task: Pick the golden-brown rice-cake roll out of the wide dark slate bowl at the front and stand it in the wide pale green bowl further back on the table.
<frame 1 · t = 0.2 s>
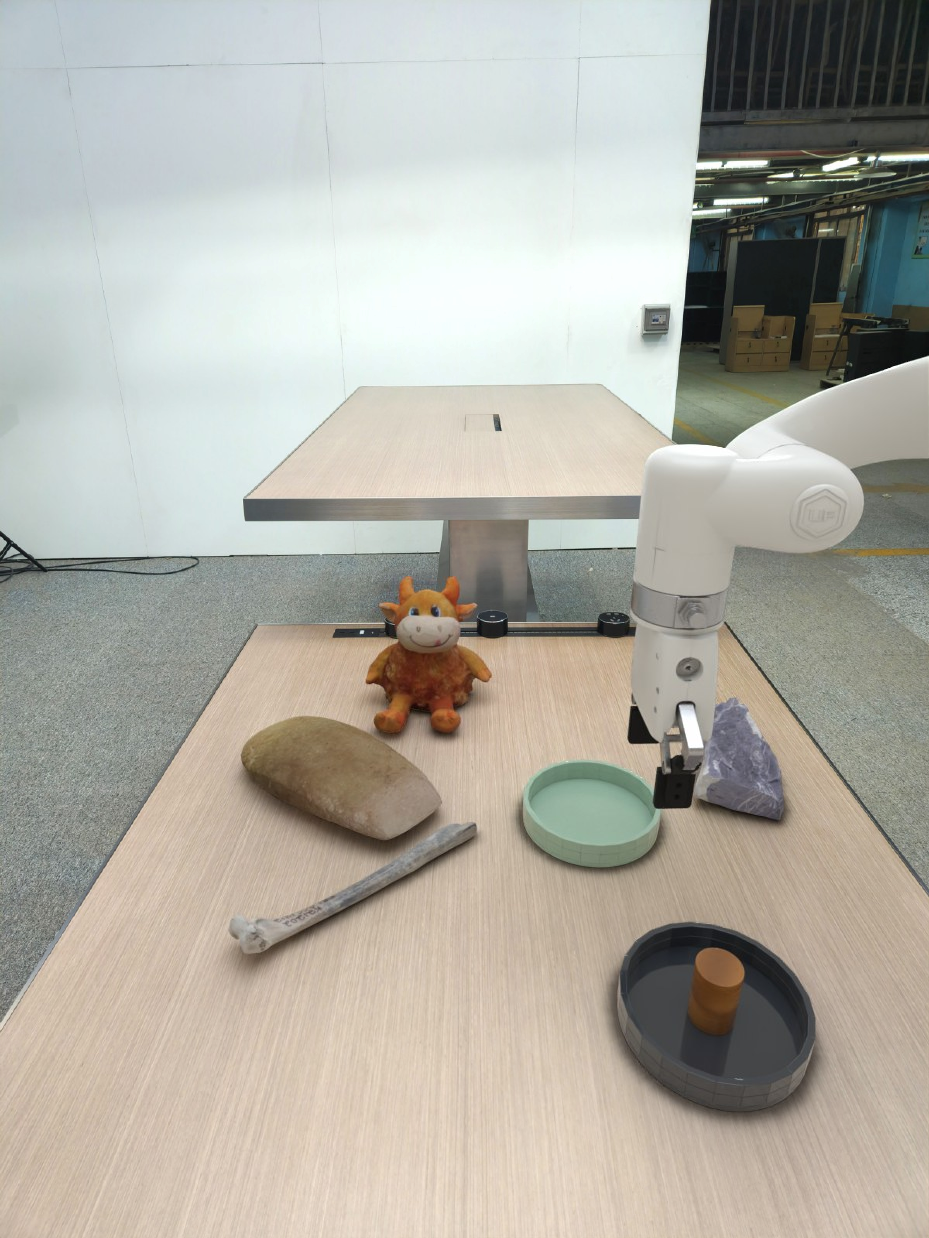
hand: (656, 772, 69), 19 cm above the table, tool pointing down, fingers open, 9 cm apart
toy: (428, 702, 117), on the table
rock: (725, 763, 102), on the table
bone: (367, 892, 81), on the table
slate bowl: (709, 1019, 67), on the table
stone: (335, 790, 97), on the table
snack: (710, 1014, 66), point 1 cm above the table, touching slate bowl
green bowl: (589, 820, 91), on the table
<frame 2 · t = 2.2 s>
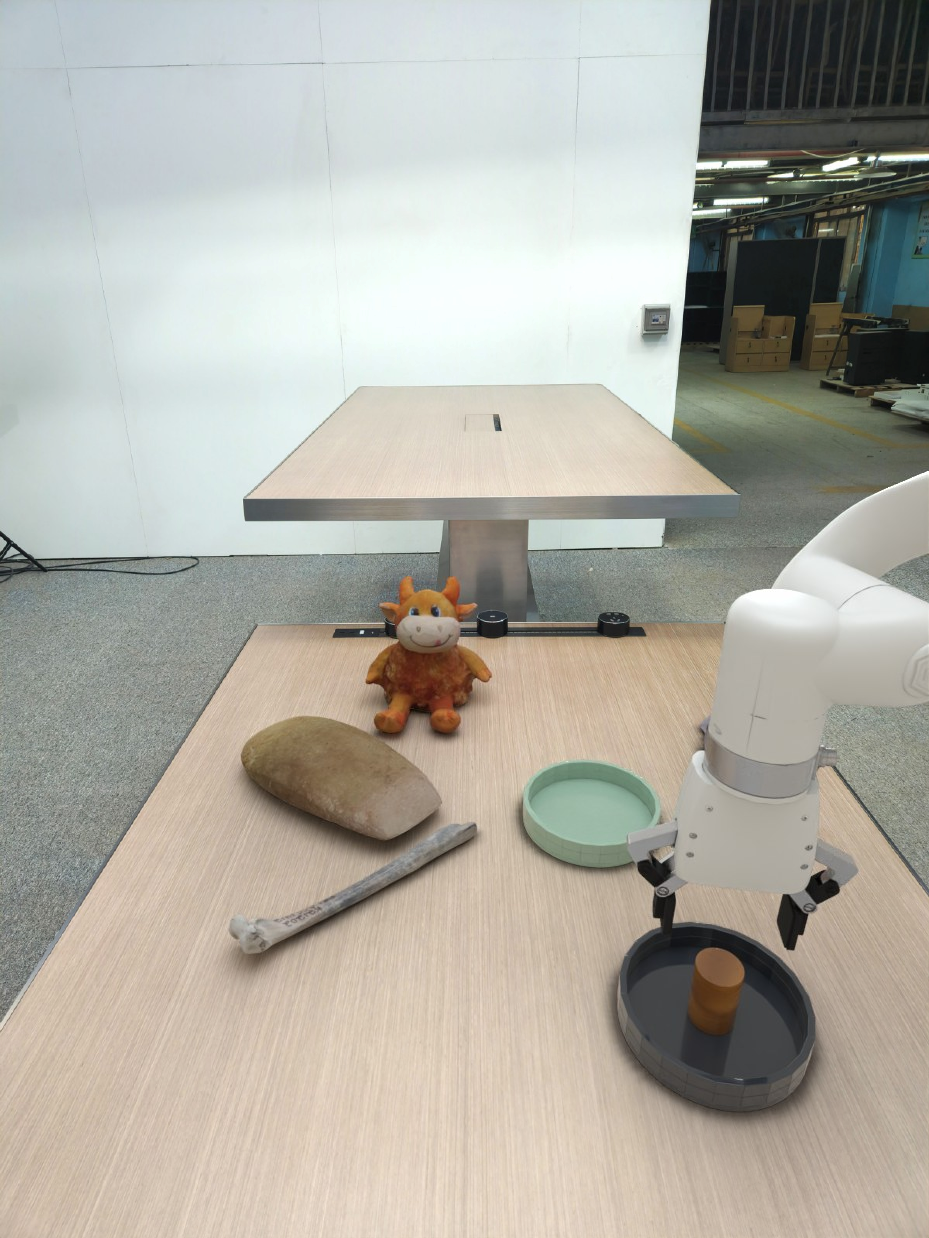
hand: (723, 929, 62), 11 cm above the table, tool pointing down, fingers open, 9 cm apart
nothing on the table moved.
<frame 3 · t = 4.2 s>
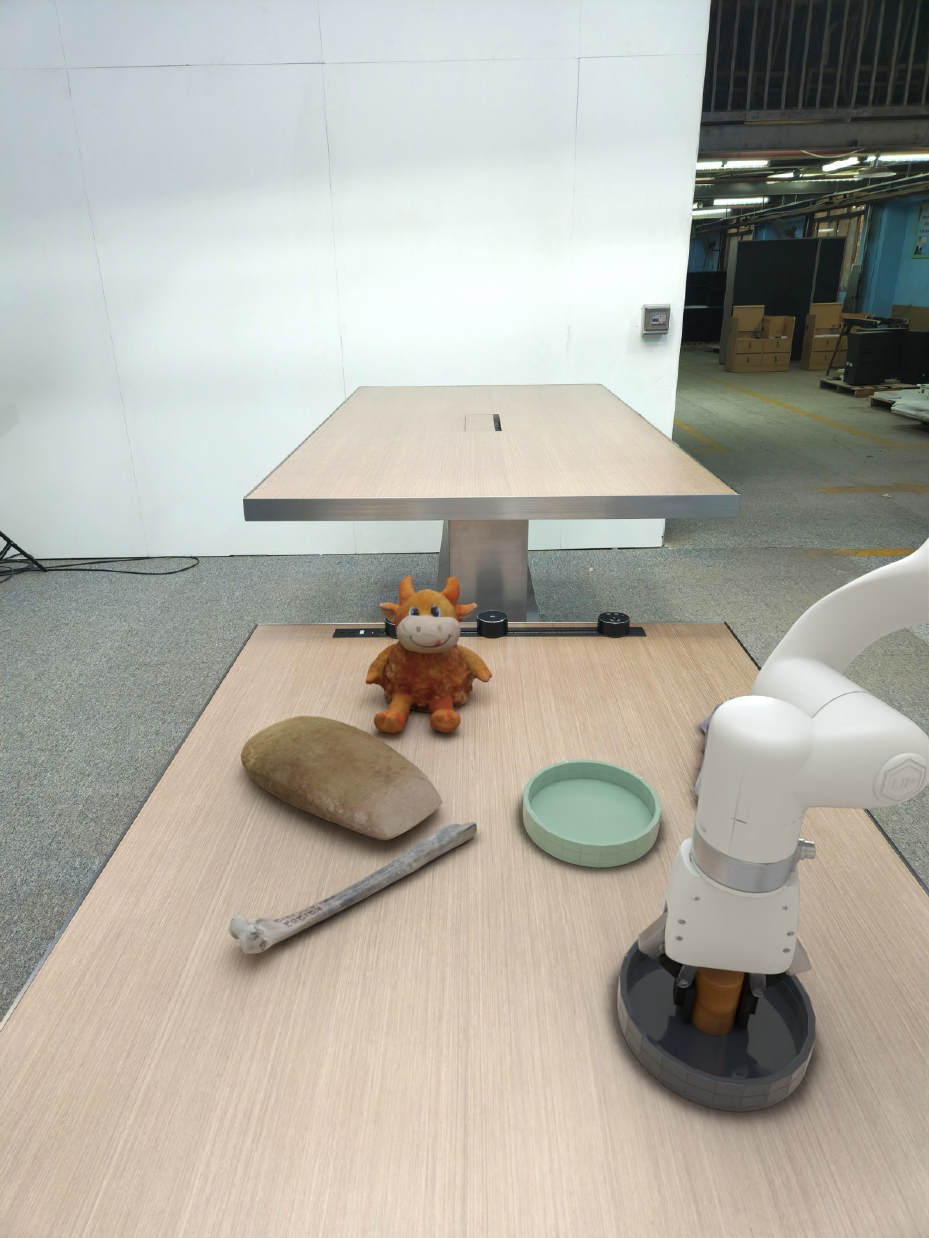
hand: (711, 1009, 66), 1 cm above the table, tool pointing down, fingers closed on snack, 4 cm apart
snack: (710, 1014, 66), point 1 cm above the table, touching gripper, slate bowl
everything else where it was.
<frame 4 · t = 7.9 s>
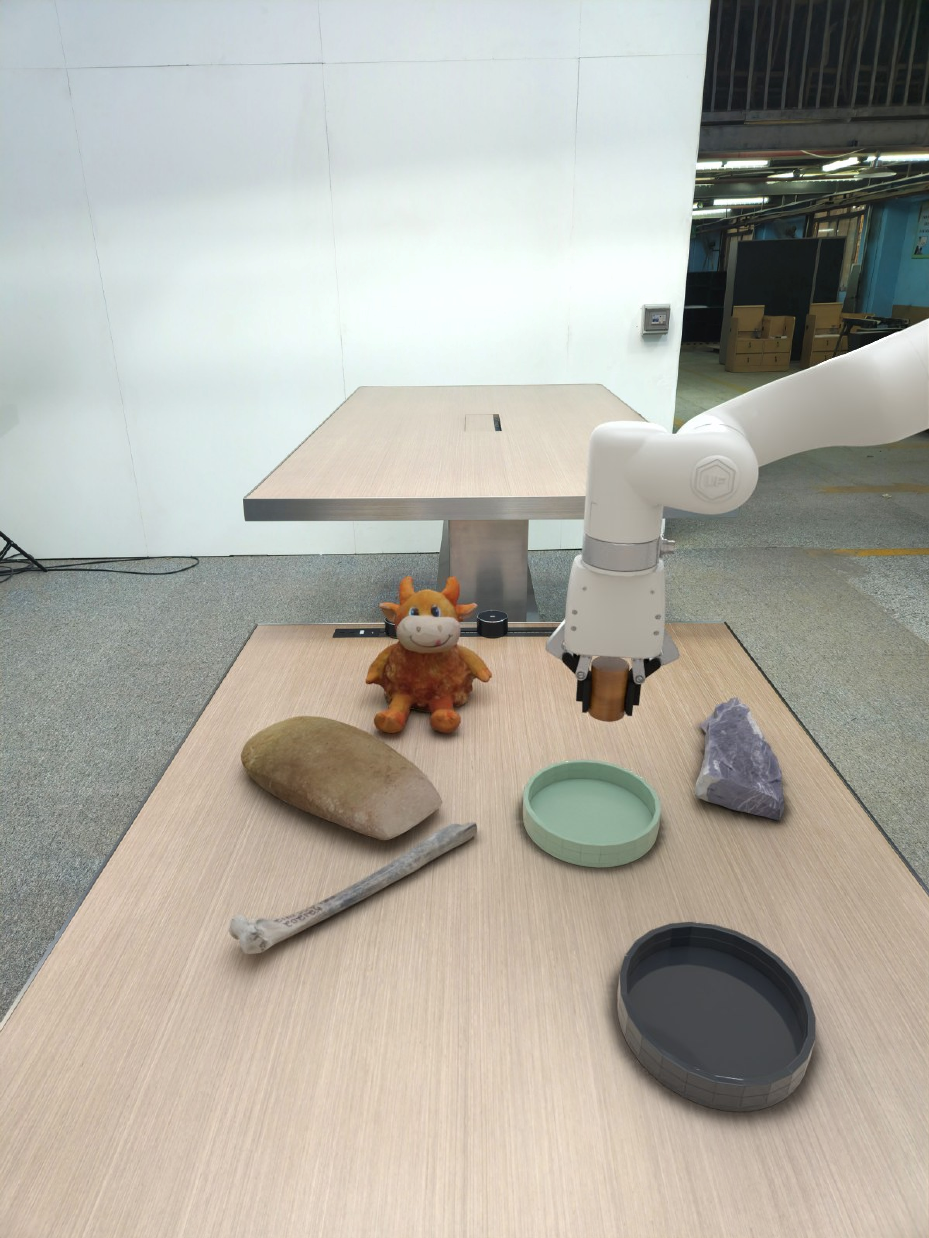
hand: (606, 706, 82), 17 cm above the table, tool pointing down, fingers closed on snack, 4 cm apart
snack: (606, 712, 82), point 17 cm above the table, touching gripper
everything else where it was.
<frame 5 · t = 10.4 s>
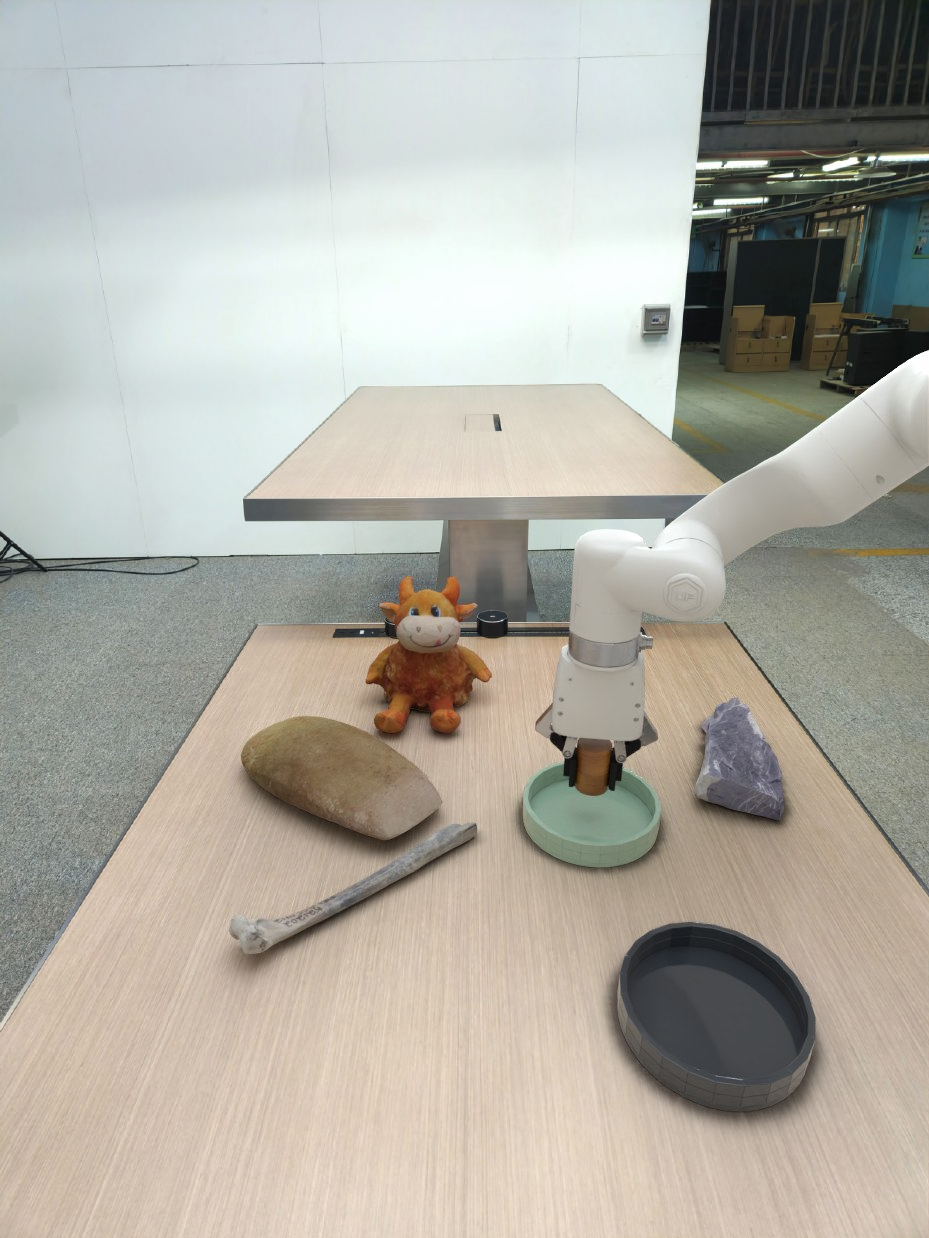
hand: (591, 780, 89), 6 cm above the table, tool pointing down, fingers closed on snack, 4 cm apart
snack: (591, 785, 89), point 5 cm above the table, touching gripper
everything else where it was.
when the fingers open (1 cm above the table, at t = 11.9 s): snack stays where it is, resting on green bowl.
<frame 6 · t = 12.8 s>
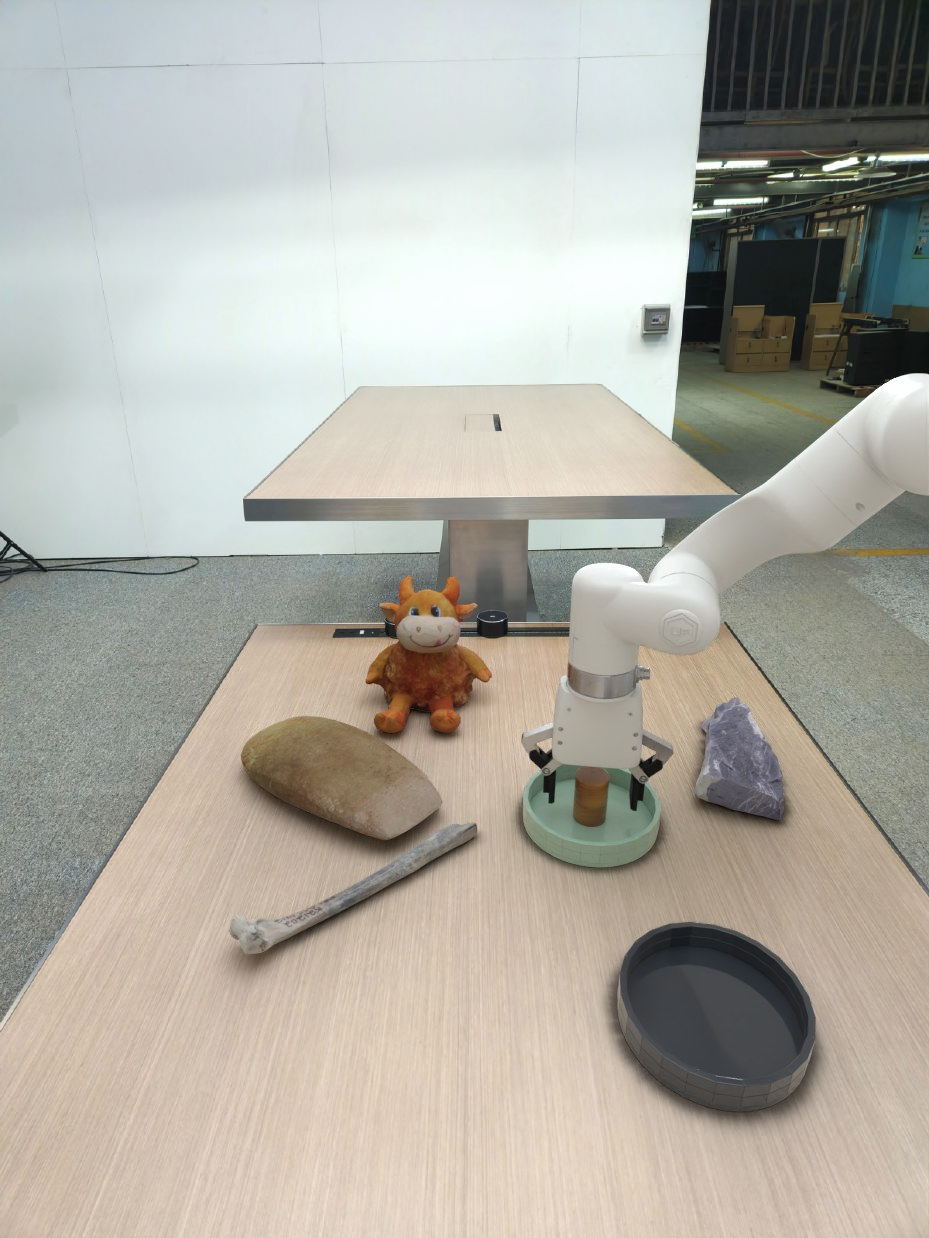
hand: (591, 799, 90), 3 cm above the table, tool pointing down, fingers open, 9 cm apart
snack: (589, 816, 91), point 1 cm above the table, touching green bowl
everything else where it was.
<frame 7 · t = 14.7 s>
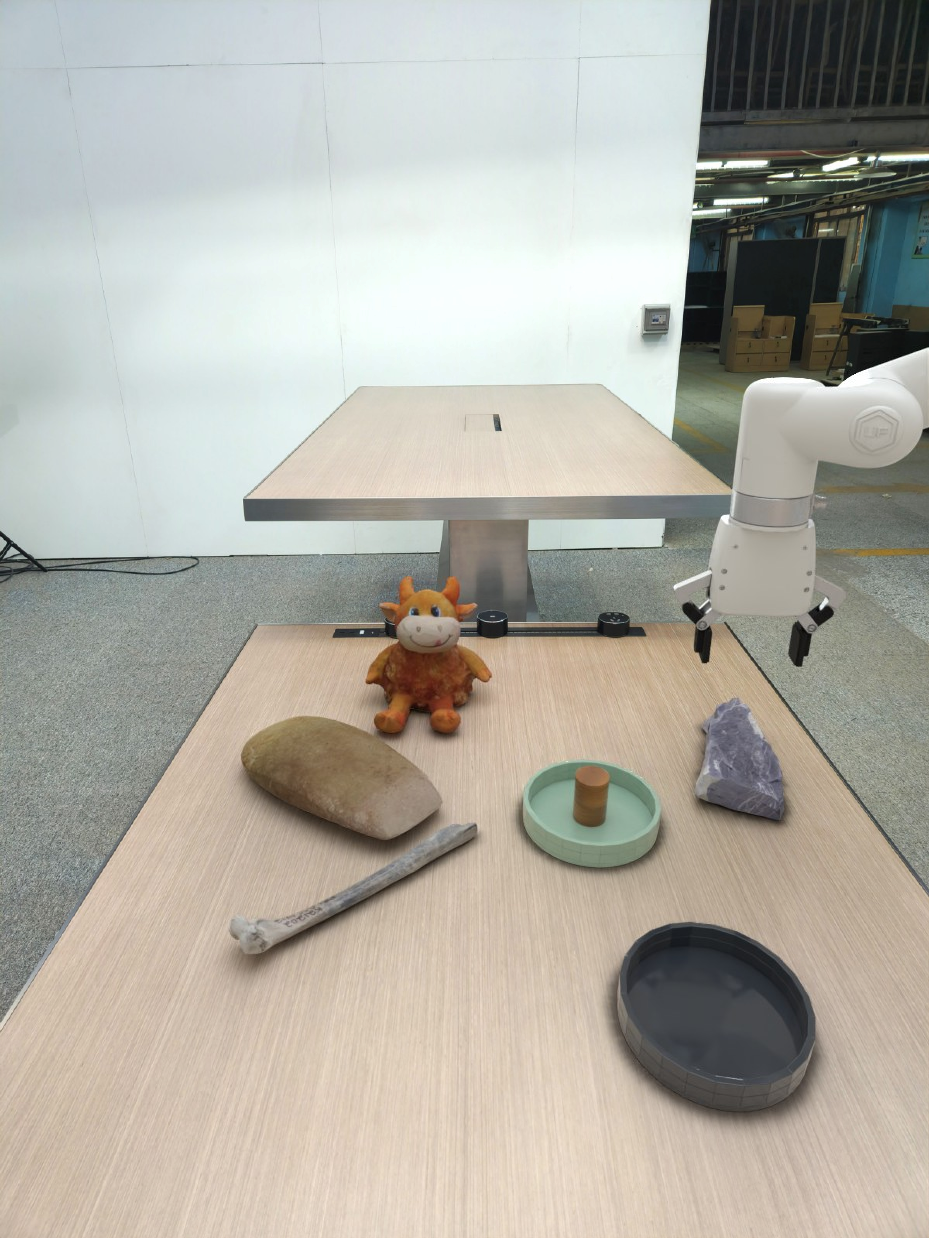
hand: (748, 659, 82), 22 cm above the table, tool pointing down, fingers open, 9 cm apart
nothing on the table moved.
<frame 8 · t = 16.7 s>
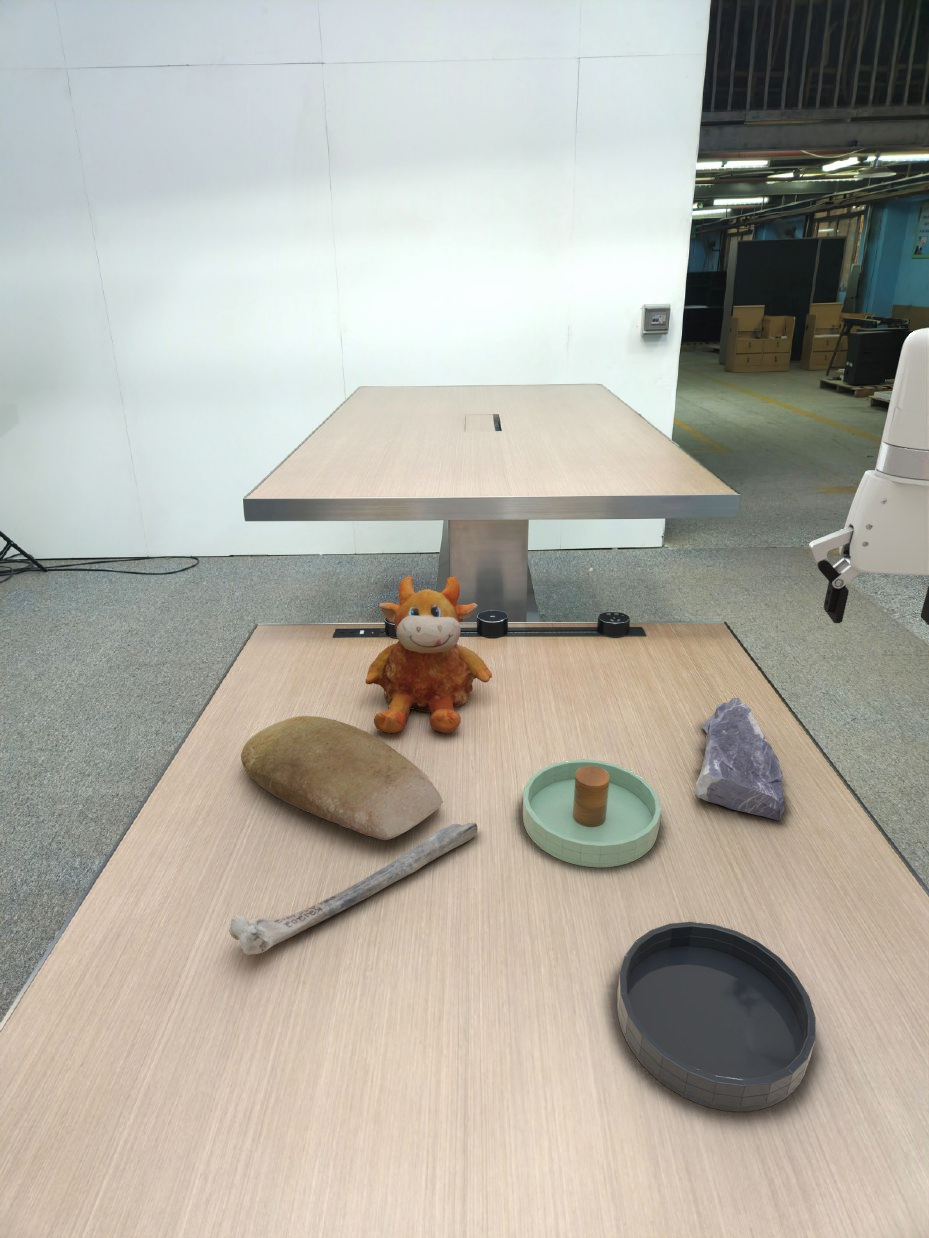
hand: (881, 620, 81), 26 cm above the table, tool pointing down, fingers open, 9 cm apart
nothing on the table moved.
at the end: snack inside the target area in the green bowl (0.1 cm from its centre), point 0.6 cm above the green bowl's base; the gripper is holding nothing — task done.
